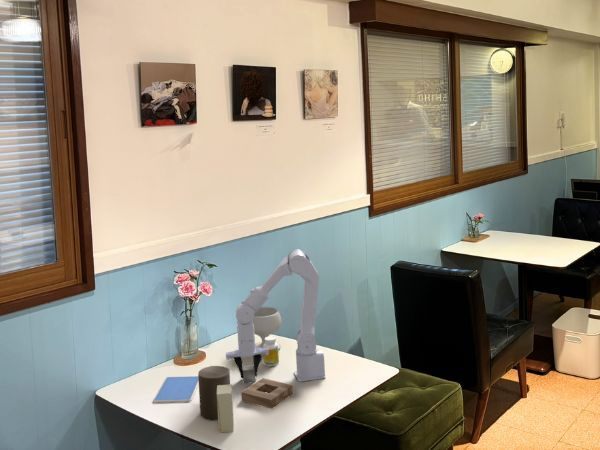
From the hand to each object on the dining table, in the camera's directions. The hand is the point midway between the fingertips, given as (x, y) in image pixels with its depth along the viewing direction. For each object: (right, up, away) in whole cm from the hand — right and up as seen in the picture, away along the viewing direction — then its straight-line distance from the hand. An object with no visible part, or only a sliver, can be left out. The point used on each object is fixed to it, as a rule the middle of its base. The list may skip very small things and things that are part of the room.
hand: (248, 376), depth 226 cm
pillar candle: (-8, -6, -23) cm, 25 cm away
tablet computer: (-23, -4, -5) cm, 24 cm away
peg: (0, -1, 0) cm, 1 cm away
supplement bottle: (+7, +1, +14) cm, 16 cm away
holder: (+7, -4, -13) cm, 16 cm away
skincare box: (-4, -8, -32) cm, 33 cm away
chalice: (+4, +4, +28) cm, 29 cm away
